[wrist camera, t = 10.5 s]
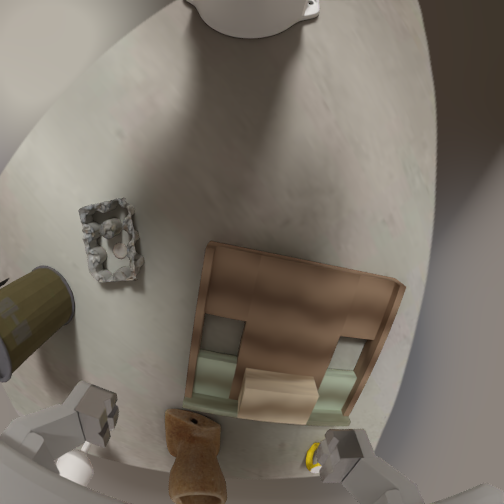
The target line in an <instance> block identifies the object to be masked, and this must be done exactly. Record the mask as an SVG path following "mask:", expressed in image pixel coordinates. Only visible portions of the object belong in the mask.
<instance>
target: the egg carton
mask: <svg viewBox="0 0 504 504" xmlns="http://www.w3.org/2000/svg"><path fill="white" fill-rule="evenodd" d="M118 201H119V204H120V206H122V207H126V208H128V215H127V217H125V219H124V221H123V225H122V223H121V221H120V220H119V219H118V218H112V219H109V220H106V221H104V222H103V223H102V225H101V226H100V224H98V223H97V222H93V219H92V215H93V214H94V213H95V212H96V211H100V212H101V213H106V212H108V211H111V210H114V209H115V208H116V207H117V205H118ZM133 214H135V210H134V207H133V206H131V205H129V204H128V203H126V201H125V198H122V199H120V198H119V199H114V200H111V201H106V202H102V203H97V204H94V205H88V206H85V207H83V208H80V209H79V215H80V219H81V223H82V226H83V230H82V231H83V232H84V235H83V241H84V244H85V249H86V254H87V258H88V267H89V271H90V274H91V275H92V276H93V277H94V278H95V279H96V280H97V281H98V282H111V281H113V282H114V281H121V280H125V281H130V280H137V279H136V275H137V274H138V273H139V270H140V266H142V265H143V264H144V257H143V256H141V255H139V254H137V252H136V251H135V246H134V244H135V242H136V241H137V240H138V239H140V238H139V235H138V232H137V231H135V230H134V228H133V224H132V219H131V216H132V215H133ZM122 229H123V230H125V231H127V232H128V233H129V234H132V240H131V241H130V242H129V243H128V245H127V246H128V247H126V246H125V245H124V244H123V243H116V244H115V245H114V247H113V253H114V255H115V256H116V257H117V258H119V259H123V258H125V257H126V256H127V257H128V258H129V260H130V268H129V267H126V266H124V267H121V268H120V269H118V270H117V271H116V272H115V273H114V274H113V275H112V273H111V272H110V271H109V270H107V269H104V268H103V265H102V262H104V261H105V260H106V258H107V252H106V250H105V249H104V248H103V247H102V246H98V243H97V238H99V237H100V236H101V235H102V236H103V237H104V238H106V239H110V238H112V237H114V236H116V235H118V234H119V233H121V231H122Z"/></svg>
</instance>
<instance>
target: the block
mask: <svg viewBox="0 0 504 504" xmlns="http://www.w3.org/2000/svg"><path fill="white" fill-rule="evenodd" d="M318 398H319V394H318V391H317V387H316V384H315V380H314V377H312V376H302V375H293V374H285V373H277V372H270V371H263V370H257V369H250V368H246V370H245V374H244V378H243V382H242V385H241V389H240V393H239V397H238V414H237V418H242V419H249V420H257V421H266V422H275V423H287V424H300V425H306V423H307V421H308V419H309V417H310V415H311V413H312V411H313V408H314V406H315V404H316V402H317V400H318Z"/></svg>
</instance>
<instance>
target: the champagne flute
mask: <svg viewBox="0 0 504 504" xmlns="http://www.w3.org/2000/svg"><path fill="white" fill-rule="evenodd" d="M114 429H115V428H114ZM114 429H112V430H114ZM112 430H110V431H112ZM90 445H91V443H89V442H87V441H85V443H84V445H83V446H82V448H81V450H80V451H79V450H71V451H69V452H68V453H66V454H64V455H62V456H60V457H59V458H58V461H57V463H56V466H57V468H58V470H59V472H60V475H61V476H63V477H65V478H67V479H69V480H71V481H73V482H76V483H78V484H80V485H82V486H85V487H86V486H87V485H88V483H89V481H90V480H91V478H92V476H93V475H94V470H93V466H92V464H91V462H90V460H89V458H88V456H87V455H86V453H87V451H88V449H89V447H90Z"/></svg>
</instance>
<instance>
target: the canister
mask: <svg viewBox="0 0 504 504" xmlns="http://www.w3.org/2000/svg"><path fill="white" fill-rule="evenodd" d="M8 279H9V278H8ZM8 279H6V280H4V281H2V282H0V286H2V285H4V284H5V283H6V282H7V281H8ZM74 311H75V304H74V297H73V294H72V291H71V289H70V287H69V285H68V283H67V282H66V280H65V279H64V278H63V276H62V275H61V274H60V273H59V272H57V271H56V270H55V269H53V268H50V267H48V266H39V267H36V268H35V269H34V270H32V272H30V273H28V274H27V275H25V276H23V277H21V278H19V279H17V280H16V281H14V282H12V283H10V284H8V285H7V286H5V287H3V288H1V289H0V382H7V381H8V380H10V378H11V376H12V373H13V372H14V371H15V370H16V369H17V368H18V367H19V366H20V365H21V364H22V363H23V362H24V361H25V360H26V359H27V358H28V357H29V356H31V355H32V354H33V353H34V352H35V351H36V350H37V349H38V348H39V347H40V346H41V345H42V344H43V343H44V342H45V341H46V340H48V339H49V338H50V337H51V336H52V335H53V334H54V333H55V332H56V331H57V330H58V329H60V328H61V327H62V326H63V325H66V324H68V323H69V322H70V320H71V319H72V317H73V314H74Z"/></svg>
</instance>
